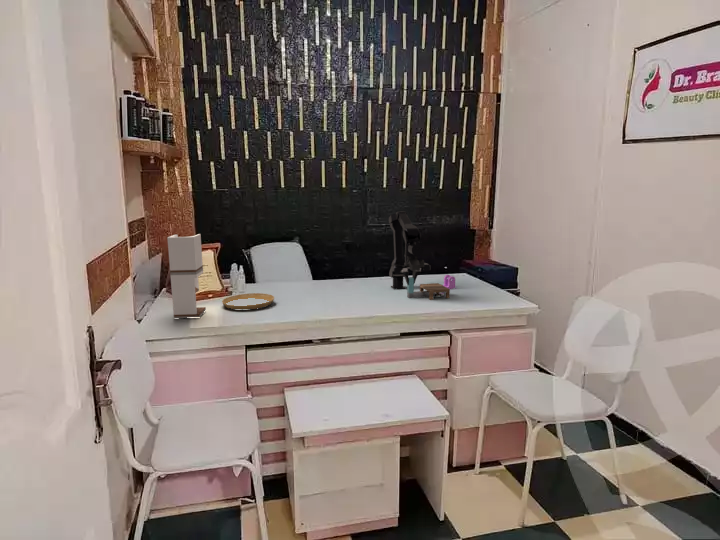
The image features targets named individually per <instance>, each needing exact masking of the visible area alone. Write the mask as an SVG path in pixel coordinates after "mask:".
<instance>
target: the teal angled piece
mask: <svg viewBox="0 0 720 540" xmlns="http://www.w3.org/2000/svg"><path fill="white" fill-rule="evenodd" d="M408 279H409V284H408V285H406V286H407V287H406V288H407V289H406V290H407V292H406V294H407V298H408V299H414V298H417V297H418V298H429V292H428V291H427V290H424V291H420V290H417V291H415V290H414V289H415V288H414V287H415V286H414V285H415V283H414V278H413V277H412V276H408ZM433 296H434V297H436V296H435V293H433ZM418 298H417V299H418Z"/></svg>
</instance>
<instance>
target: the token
mask: <svg viewBox="0 0 720 540" xmlns="http://www.w3.org/2000/svg"><path fill="white" fill-rule="evenodd" d="M444 293H445V292H436V293H435V296H434V297H436V296H442V297H444V295H445V294H444Z"/></svg>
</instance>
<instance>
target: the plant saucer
mask: <svg viewBox="0 0 720 540" xmlns="http://www.w3.org/2000/svg"><path fill="white" fill-rule="evenodd" d="M248 298H255V299H264V300H267V301H269V302H266V303H262V304H256V305H247V306H234V305H227V304H226V303H228V302H230V301H233V300H238V299H248ZM274 300H275V296H274V295H272V294H269V293H262V292H261V293H259V292H257V293H253V292H252V293H241V294H235V295H231V296H227V297H226V298H224V299H222V301H221V303H222V304H223V306H224V307H225V308H226V309H229V308H231V309H230V310H232V309H256V310H258V309H257V308H261V309H263V308H262V307H265V308H267V307H269V306H270V305H271V304H272V303H273V302H274ZM268 305H269V306H268ZM266 306H267V307H266Z"/></svg>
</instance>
